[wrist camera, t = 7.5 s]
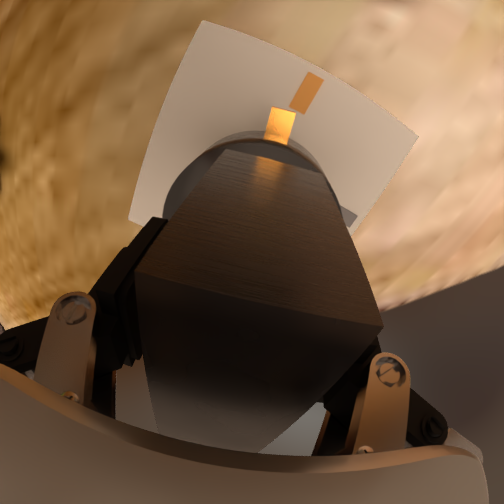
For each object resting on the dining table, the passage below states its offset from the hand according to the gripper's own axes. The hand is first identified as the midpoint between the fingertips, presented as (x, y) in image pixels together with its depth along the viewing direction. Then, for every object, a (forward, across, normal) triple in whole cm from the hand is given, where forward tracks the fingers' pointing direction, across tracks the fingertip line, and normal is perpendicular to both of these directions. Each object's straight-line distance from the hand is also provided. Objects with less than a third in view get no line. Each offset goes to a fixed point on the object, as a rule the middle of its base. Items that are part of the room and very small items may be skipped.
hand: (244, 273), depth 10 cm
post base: (+13, 0, 0) cm, 13 cm away
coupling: (+6, 0, -1) cm, 6 cm away
